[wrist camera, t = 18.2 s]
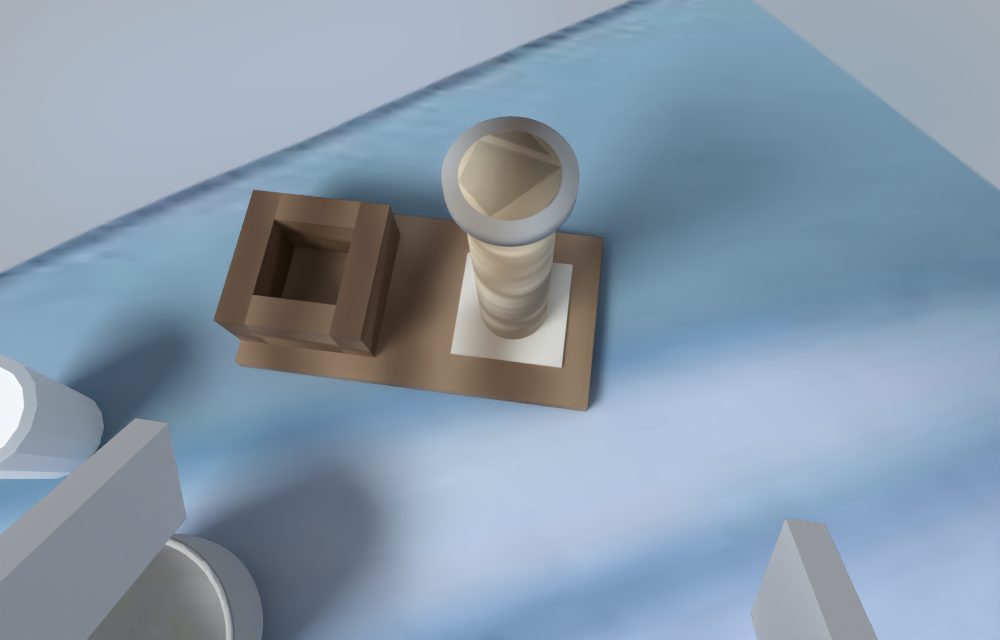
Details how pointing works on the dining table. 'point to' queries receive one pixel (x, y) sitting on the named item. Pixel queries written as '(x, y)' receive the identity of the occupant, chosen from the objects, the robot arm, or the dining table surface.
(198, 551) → the teacup
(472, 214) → the capped plug
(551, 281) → the socket board
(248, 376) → the dining table surface
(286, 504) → the dining table surface
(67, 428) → the short white cylinder
